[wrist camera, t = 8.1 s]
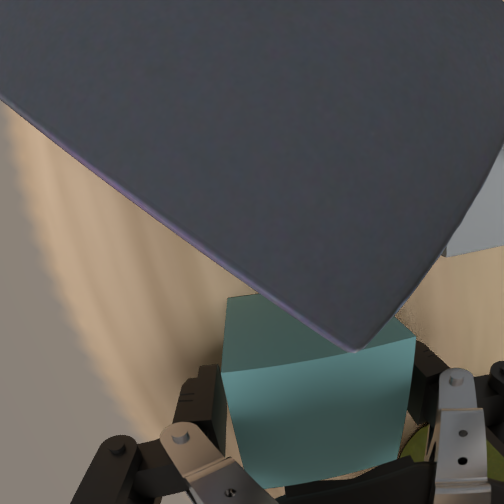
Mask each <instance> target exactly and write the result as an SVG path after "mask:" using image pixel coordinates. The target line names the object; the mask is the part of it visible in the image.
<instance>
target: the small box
mask: <svg viewBox="0 0 504 504" xmlns="http://www.w3.org/2000/svg"><path fill="white" fill-rule="evenodd" d="M0 100H1V101H3V102H4V103H5V104H6V105H8V106H9V107H10V108H11V109H13V110H14V111H15V112H16V113H18V114H19V115H20V116H21V117H23V118H24V119H25V120H26V121H28V122H29V123H30V124H31V125H33V126H34V127H35V128H36V129H38V130H39V131H40V132H42V133H43V134H44V135H45V136H47V137H48V138H49V139H50V140H52V141H53V142H54V143H56V144H57V145H58V146H59V147H61V148H62V149H63V150H65V151H66V152H67V153H68V154H70V155H71V156H72V157H74V158H75V159H76V160H78V161H79V162H80V163H81V164H83V165H84V166H85V167H87V168H88V169H89V170H91V171H92V172H93V173H95V174H96V175H97V176H99V177H100V178H101V179H102V180H104V181H105V182H106V183H108V184H109V185H110V186H112V187H113V188H114V189H116V190H117V191H118V192H120V193H121V194H122V195H124V196H125V197H127V198H128V199H129V200H131V201H132V202H133V203H135V204H136V205H137V206H139V207H140V208H141V209H143V210H144V211H145V212H147V213H148V214H150V215H151V216H152V217H154V218H155V219H156V220H158V221H159V222H160V223H162V224H163V225H165V226H166V227H167V228H169V229H170V230H171V231H173V232H174V233H176V234H177V235H178V236H180V237H181V238H182V239H184V240H185V241H187V242H188V243H189V244H191V245H192V246H194V247H195V248H196V249H198V250H199V251H200V252H202V253H203V254H205V255H206V256H207V257H209V258H210V259H212V260H213V261H214V262H216V263H217V264H219V265H220V266H221V267H223V268H224V269H226V270H227V271H229V272H230V273H231V274H233V275H234V276H236V277H237V278H238V279H240V280H241V281H243V282H244V283H246V284H247V285H248V286H250V287H251V288H253V289H254V290H255V291H257V292H258V293H260V294H261V295H262V296H264V297H265V298H267V299H268V300H270V301H271V302H272V303H274V304H275V305H277V306H278V307H280V308H281V309H282V310H284V311H285V312H287V313H288V314H290V315H291V316H292V317H294V318H295V319H297V320H298V321H300V322H301V323H303V324H304V325H306V326H308V327H309V328H311V329H312V330H314V331H315V332H317V333H318V334H319V335H321V336H322V337H324V338H325V339H327V340H328V341H330V342H331V343H333V344H334V345H336V346H337V347H339V348H341V349H342V350H344V351H346V352H348V353H357V352H358V351H360V350H362V349H364V348H365V347H366V346H367V345H368V343H369V342H370V341H371V340H372V339H373V338H374V337H375V336H376V335H377V334H378V333H379V332H380V331H381V329H382V328H383V327H384V326H385V325H386V324H387V323H388V322H389V321H390V320H391V319H392V317H393V316H394V315H395V314H396V313H397V312H398V311H399V310H400V308H401V307H402V306H403V305H404V303H405V302H406V301H407V300H408V298H409V297H410V296H411V295H412V293H413V292H414V291H415V289H416V288H417V287H418V285H419V284H420V282H421V281H422V280H423V278H424V277H425V275H426V274H427V273H428V271H429V270H430V268H431V267H432V265H433V264H434V263H435V262H436V260H437V259H438V258H439V257H440V255H441V254H442V252H443V251H444V249H445V248H446V246H447V244H448V243H449V241H450V239H451V237H452V236H453V234H454V232H455V231H456V230H457V228H458V227H459V226H460V225H461V223H462V221H463V219H464V217H465V215H466V213H467V212H468V210H469V209H470V207H471V206H472V204H473V202H474V200H475V198H476V196H477V195H478V194H479V192H480V191H481V189H482V187H483V185H484V183H485V182H486V180H487V178H488V175H489V173H490V171H491V169H492V167H493V165H494V163H495V161H496V159H497V157H498V155H499V153H500V151H501V149H502V147H503V145H504V2H503V1H502V0H0Z"/></svg>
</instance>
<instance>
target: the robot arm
mask: <svg viewBox="0 0 504 504" xmlns="http://www.w3.org/2000/svg"><path fill="white" fill-rule="evenodd" d="M407 411H408V412H409V414H410V415H411V416H412V418H413V419H414V421H415V422H416V424H417V425H419V424H422V423H424V422H427V421H428V423H429V428H428V433H427V442H426V449H425V456H424V461H422V462H414V461H413V459H412V457H411V456H410V455H408V456H405V457H402V458H399V459H396V460H393V461H390V462H387V463H384V464H381V465H379V466H377V467H375V468H374V469H372V470H370V471H368V472H366V473H364V474H362V475H360V476H358V477H356V478H354V479H347V480H318V481H312V482H307V483H301V484H295V485H289V486H285V494H286V495H283V496H280V497H278V498H276V499H274V498H273V497H271V496H270V495H269V494H268V493H267V492H266V491H265V490H264V489H263V488H262V487H261V486H260V485H259V484H258V483H257V482H256V481H255V480H254V479H253V478H252V477H251V476H250V475H249V474H248V473H247V472H246V471H245V470H244V469H243V468H242V467H241V466H240V465H239V464H238V463H237V462H236V461H235V460H234V459H233V458H232V457H228V458H225V447H226V419H227V401H226V395H225V390H224V386H223V382H222V377H221V373H220V368H219V365H218V364H212V365H202V366H200V367H199V372H198V377H197V378H189V379H188V380H187V381H186V382H185V383H184V384H183V385H182V388H181V391H180V396H179V399H178V403H177V407H176V411H175V415H174V419H173V423H172V424H171V425H169V426H168V427H166V428H165V429H164V430H163V431H162V432H161V434H160V438H159V439H157V440H154V441H150V442H145V443H141V444H137V443H136V441H135V440H134V439H133V438H132V437H130V436H126V435H118V436H113V437H110V438H108V439H107V440H105V441H104V442H103V443H102V444H101V445H100V447H99V449H98V451H97V453H96V455H95V456H94V458H93V460H92V462H91V464H90V466H89V468H88V470H87V472H86V474H85V476H84V478H83V480H82V482H81V483H80V485H79V487H78V489H77V491H76V493H75V495H74V497H73V499H72V501H71V503H70V504H160V503H161V500H162V496H166V495H170V494H175V493H179V492H183V491H185V493H186V494H187V496H188V497H189V499H190V500H191V502H192V503H193V504H504V482H502V481H498V480H495V479H491V478H487V449H486V439H487V440H488V441H489V442H490V443H491V445H492V446H493V447H494V448H495V449H496V450H497V451H498V452H499V453H500V454H501V455H502V456H503V457H504V361H499V362H496V363H494V364H493V365H492V366H491V369H490V373H489V375H484V376H478V377H473V375H472V374H471V373H470V372H469V371H467V370H465V369H461V368H449V367H448V366H447V365H446V364H445V363H444V362H443V361H442V360H441V359H440V358H439V357H438V356H437V355H435V353H433V352H432V351H431V350H430V349H429V348H428V347H427V346H426V345H425V344H424V343H422V342H419V341H417V340H416V344H415V355H414V364H413V372H412V380H411V387H410V394H409V400H408V406H407Z"/></svg>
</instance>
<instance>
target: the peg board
mask: <svg viewBox="0 0 504 504" xmlns="http://www.w3.org/2000/svg"><path fill="white" fill-rule="evenodd" d="M503 245H504V145H503V147H502V149H501V151H500V153H499V155H498V157H497V159H496V161H495V163H494V165H493V167H492V169H491V171H490V173H489V175H488V178H487V180H486V182H485V183H484V185H483V187H482V189H481V191H480V192H479V194H478V195H477V196H476V198H475V200H474V202H473V204H472V206H471V207H470V209H469V210H468V212H467V213H466V215H465V217H464V219H463V221H462V223H461V225H460V226H459V227H458V228H457V230H456V231H455V232H454V234H453V236H452V237H451V239H450V241H449V243H448V244H447V246H446V248H445V249H444V251H443V252H442V254H441V255H442V256H444V257H451V256H456V255H461V254H465V253H470V252H475V251H480V250H484V249H489V248H494V247H498V246H503Z"/></svg>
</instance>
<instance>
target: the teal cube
mask: <svg viewBox="0 0 504 504" xmlns="http://www.w3.org/2000/svg"><path fill="white" fill-rule="evenodd" d="M415 344H416V336H415V335H414V334H413V333H412V332H411V331H410V330H409V329H408V328H406V327H405V326H404V325H403V324H402V323H401V322H400V321H399V320H398V319H396V318H395V317H394V316H393V317H392V319H391V320H390V321H389V322H388V323H387V324H386V325H385V326H384V327H383V328H382V329H381V331H380V332H379V333H378V334H377V335H376V336H375V337H374V338H373V339H372V340H371V341H370V342H369V343H368V345H367V346H366V347H365V348H364V349H362V350H360V351H358V352H357V353H348V352H346V351H344V350H342V349H341V348H339V347H337V346H336V345H334V344H333V343H331V342H330V341H328V340H327V339H325V338H324V337H322V336H321V335H319V334H318V333H317V332H315V331H314V330H312V329H311V328H309V327H308V326H306V325H304V324H303V323H301V322H300V321H298V320H297V319H295V318H294V317H292V316H291V315H290V314H288V313H287V312H285V311H284V310H282V309H281V308H280V307H278V306H277V305H275V304H274V303H272V302H271V301H270V300H268V299H267V298H265V297H264V296H262V295H261V294H254V295H247V296H239V297H232V298H228V299H227V309H226V320H225V331H224V342H223V354H222V366H221V376H222V380H223V385H224V389H225V394H226V398H227V402H228V407H229V411H230V415H231V419H232V423H233V428H234V432H235V436H236V440H237V444H238V448H239V452H240V456H241V459H242V463H243V467H244V470H245V471H246V472H247V473H248V474H249V475H250V476H251V477H252V478H253V479H254V480H255V481H256V482H257V483H258V484H259V485H260V486H261V487H262V488H263V489H268V488H276V487H283V486H289V485H295V484H301V483H307V482H312V481H318V480H323V479H328V478H332V477H337V476H341V475H345V474H349V473H353V472H357V471H361V470H364V469H368V468H371V467H375V466H378V465H381V464H384V463H387V462H390V461H393V460H396V459H397V455H398V451H399V447H400V442H401V438H402V433H403V428H404V423H405V417H406V412H407V406H408V400H409V394H410V387H411V380H412V372H413V364H414V355H415Z"/></svg>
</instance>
